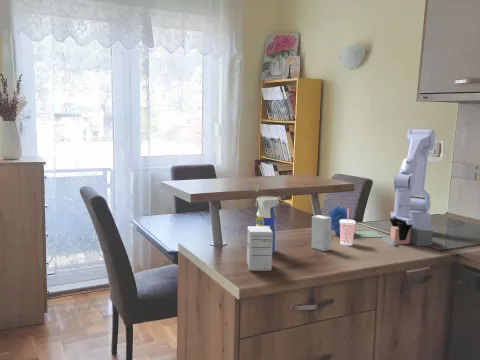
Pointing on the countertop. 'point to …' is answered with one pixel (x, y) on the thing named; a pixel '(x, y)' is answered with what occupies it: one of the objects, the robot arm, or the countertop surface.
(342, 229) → the beverage cup
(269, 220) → the spray bottle
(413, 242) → the gray rectangular block
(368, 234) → the mat
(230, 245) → the countertop surface
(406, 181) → the robot arm
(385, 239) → the bar
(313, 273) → the countertop surface
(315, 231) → the skincare box
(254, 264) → the supplement box
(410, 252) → the countertop surface
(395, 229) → the salmon pink block
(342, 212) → the grapes
